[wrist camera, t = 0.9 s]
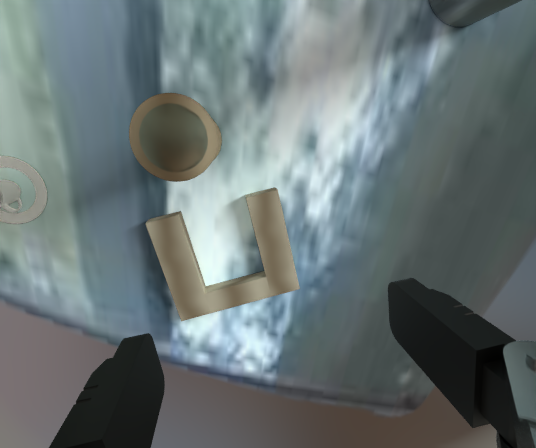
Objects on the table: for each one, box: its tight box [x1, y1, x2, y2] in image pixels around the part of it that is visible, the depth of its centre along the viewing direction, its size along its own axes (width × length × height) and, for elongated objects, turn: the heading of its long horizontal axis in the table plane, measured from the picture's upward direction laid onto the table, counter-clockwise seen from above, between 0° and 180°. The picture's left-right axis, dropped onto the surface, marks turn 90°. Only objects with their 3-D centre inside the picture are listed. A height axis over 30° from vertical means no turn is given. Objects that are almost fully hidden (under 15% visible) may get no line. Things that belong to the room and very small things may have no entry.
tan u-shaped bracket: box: [146, 188, 300, 321], centre depth 39 cm, size 16×14×2 cm
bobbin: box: [129, 93, 222, 182], centre depth 29 cm, size 6×6×14 cm
